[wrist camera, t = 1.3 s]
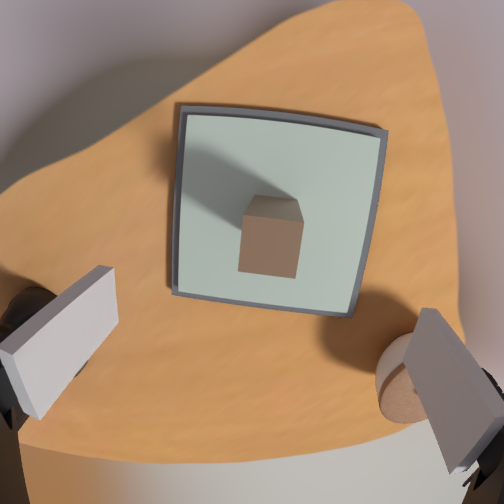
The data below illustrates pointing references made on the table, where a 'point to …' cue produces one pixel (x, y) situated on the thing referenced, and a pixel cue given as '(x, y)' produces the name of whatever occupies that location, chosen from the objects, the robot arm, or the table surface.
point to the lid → (274, 211)
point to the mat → (289, 119)
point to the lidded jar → (397, 385)
